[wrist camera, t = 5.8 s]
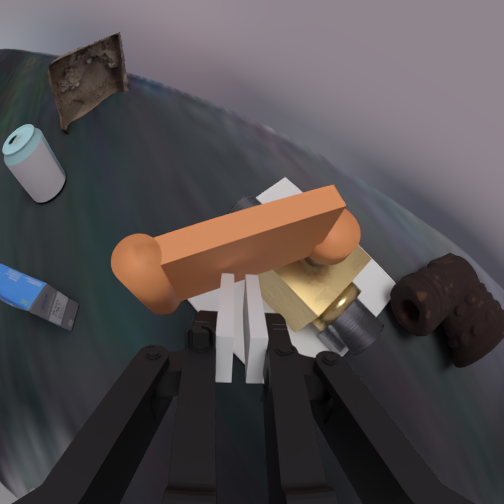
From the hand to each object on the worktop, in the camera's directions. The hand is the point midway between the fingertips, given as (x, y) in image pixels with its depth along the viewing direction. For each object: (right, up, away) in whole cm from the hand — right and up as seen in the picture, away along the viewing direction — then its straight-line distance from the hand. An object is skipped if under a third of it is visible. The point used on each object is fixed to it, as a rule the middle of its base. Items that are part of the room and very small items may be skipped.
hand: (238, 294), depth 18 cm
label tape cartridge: (-25, -5, +13) cm, 29 cm away
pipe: (+27, -6, +16) cm, 32 cm away
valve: (+6, -2, +17) cm, 18 cm away
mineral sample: (-30, +31, +29) cm, 52 cm away
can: (-32, +13, +21) cm, 41 cm away
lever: (+1, +2, +4) cm, 4 cm away
